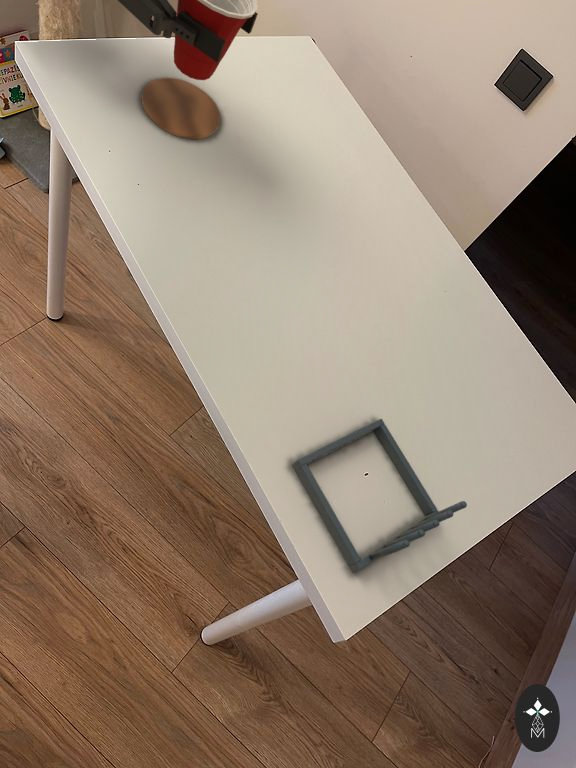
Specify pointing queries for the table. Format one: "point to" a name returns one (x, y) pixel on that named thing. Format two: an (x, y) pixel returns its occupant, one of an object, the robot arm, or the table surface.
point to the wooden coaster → (180, 108)
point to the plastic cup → (221, 16)
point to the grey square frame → (410, 479)
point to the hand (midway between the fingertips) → (237, 37)
